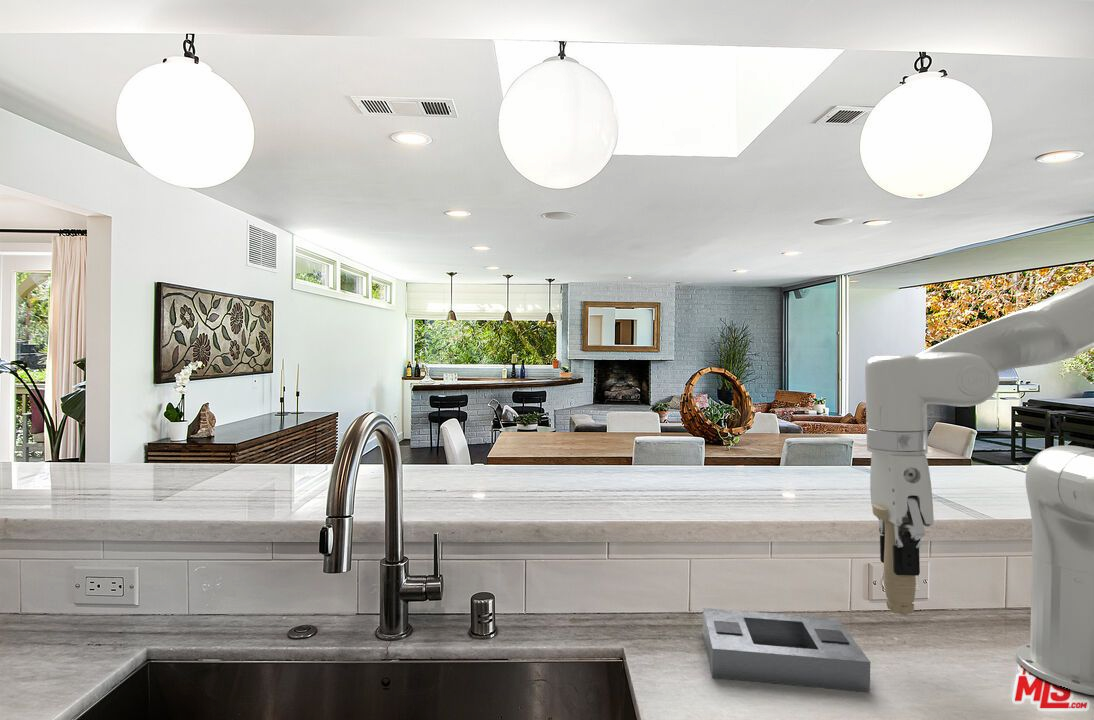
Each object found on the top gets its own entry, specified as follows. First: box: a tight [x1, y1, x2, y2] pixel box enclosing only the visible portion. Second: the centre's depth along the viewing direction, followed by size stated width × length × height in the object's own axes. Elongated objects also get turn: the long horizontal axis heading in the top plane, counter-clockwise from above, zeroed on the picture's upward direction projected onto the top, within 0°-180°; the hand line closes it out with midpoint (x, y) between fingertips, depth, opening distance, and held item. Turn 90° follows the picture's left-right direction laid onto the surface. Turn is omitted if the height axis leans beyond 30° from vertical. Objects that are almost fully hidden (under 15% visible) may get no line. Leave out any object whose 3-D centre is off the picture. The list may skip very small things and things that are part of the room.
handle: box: [871, 504, 917, 616], centre depth 86 cm, size 5×6×15 cm
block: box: [702, 607, 871, 693], centre depth 86 cm, size 20×13×4 cm, turn 81°
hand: (899, 567), depth 86 cm, fingers closed on handle, 3 cm apart
